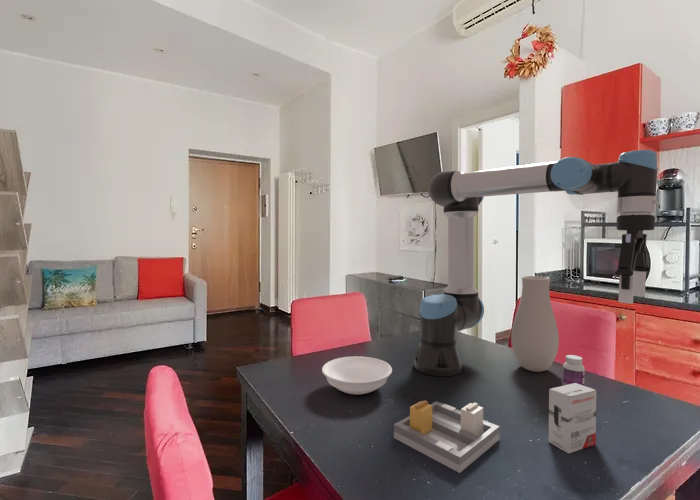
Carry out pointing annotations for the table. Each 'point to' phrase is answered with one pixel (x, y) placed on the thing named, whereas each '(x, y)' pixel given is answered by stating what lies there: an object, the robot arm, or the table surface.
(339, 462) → the table surface
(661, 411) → the table surface
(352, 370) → the bowl
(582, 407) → the ink box
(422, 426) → the amber tab
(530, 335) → the vase
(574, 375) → the pill bottle
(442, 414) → the frame
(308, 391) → the table surface
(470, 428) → the ivory tab
